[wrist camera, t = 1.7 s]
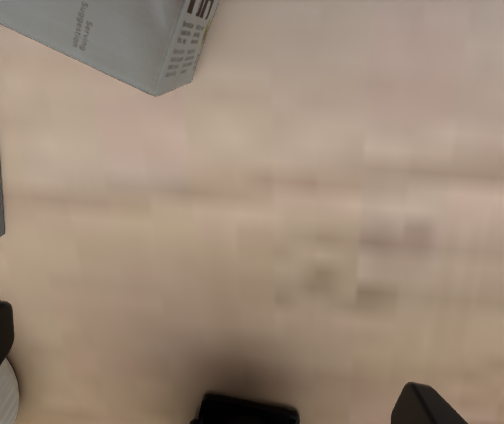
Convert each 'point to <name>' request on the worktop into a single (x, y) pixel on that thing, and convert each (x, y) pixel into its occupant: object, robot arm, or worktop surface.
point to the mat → (1, 210)
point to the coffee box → (120, 35)
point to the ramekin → (8, 394)
